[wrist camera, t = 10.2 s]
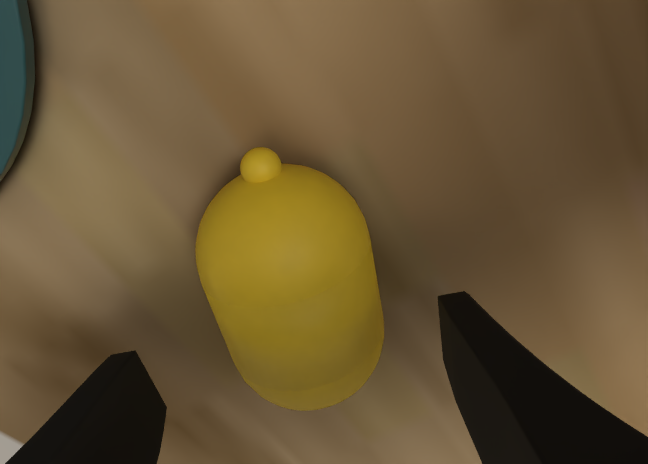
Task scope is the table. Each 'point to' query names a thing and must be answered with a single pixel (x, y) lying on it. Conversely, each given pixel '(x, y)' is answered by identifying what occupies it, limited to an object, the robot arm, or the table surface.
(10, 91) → the lid
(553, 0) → the table surface
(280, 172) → the small lemon
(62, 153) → the table surface
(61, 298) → the table surface
